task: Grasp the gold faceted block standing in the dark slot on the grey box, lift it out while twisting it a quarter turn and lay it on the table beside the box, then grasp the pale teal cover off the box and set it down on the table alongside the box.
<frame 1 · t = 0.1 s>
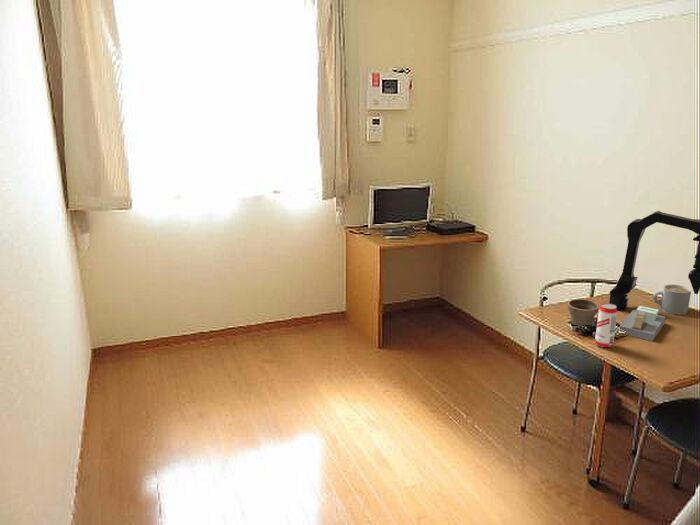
hand: (698, 290, 212), 15 cm above the table, tool pointing down, fingers open, 9 cm apart
gold faceted block: (639, 325, 210), point 3 cm above the table, touching housing
cover: (646, 316, 218), point 3 cm above the table, touching housing
beer can: (603, 345, 202), on the table
housing: (641, 328, 214), on the table
flower pot: (580, 327, 217), on the table
coffee mug: (669, 309, 231), on the table
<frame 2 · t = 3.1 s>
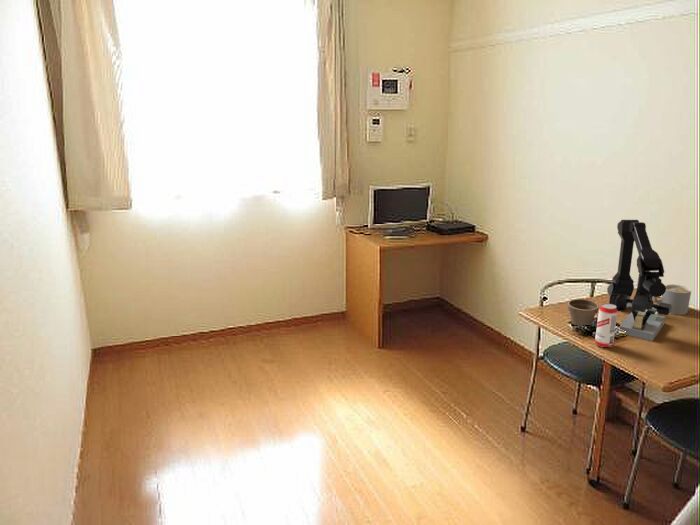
hand: (639, 324, 210), 4 cm above the table, tool pointing down, fingers closed on gold faceted block, 2 cm apart
gold faceted block: (639, 325, 210), point 3 cm above the table, touching gripper, housing
everything else where it was.
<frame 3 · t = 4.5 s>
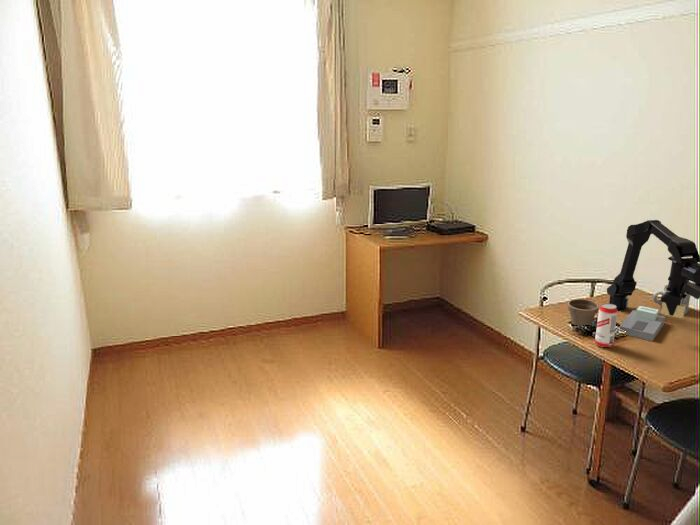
hand: (672, 314, 200), 11 cm above the table, tool pointing down, fingers closed on gold faceted block, 2 cm apart
gold faceted block: (672, 314, 200), point 11 cm above the table, touching gripper
everything else where it was.
when the fingers open (2 cm above the table, at t = 6.4 s): gold faceted block drops 1 cm, on the table.
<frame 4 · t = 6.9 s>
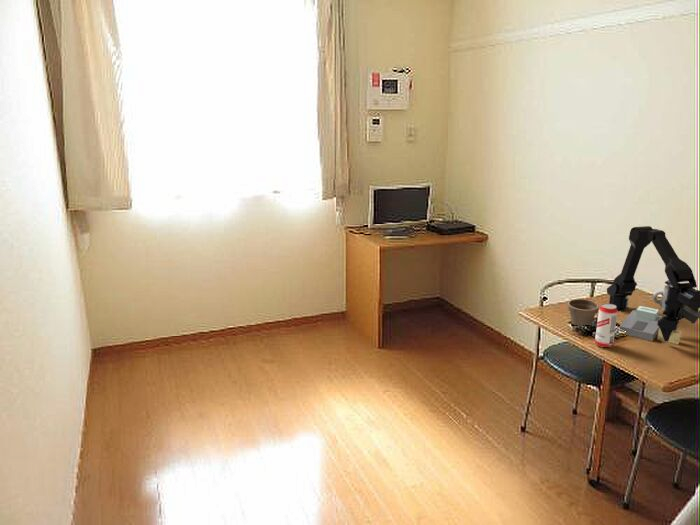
hand: (668, 337, 203), 2 cm above the table, tool pointing down, fingers open, 8 cm apart
gold faceted block: (668, 341, 204), on the table
everything else where it was.
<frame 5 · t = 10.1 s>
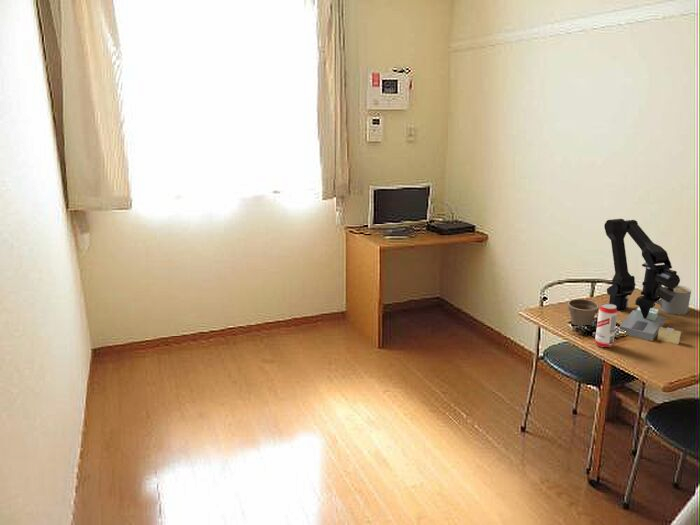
hand: (646, 316, 218), 3 cm above the table, tool pointing down, fingers closed on cover, 5 cm apart
cover: (646, 316, 218), point 3 cm above the table, touching gripper, housing
everything else where it was.
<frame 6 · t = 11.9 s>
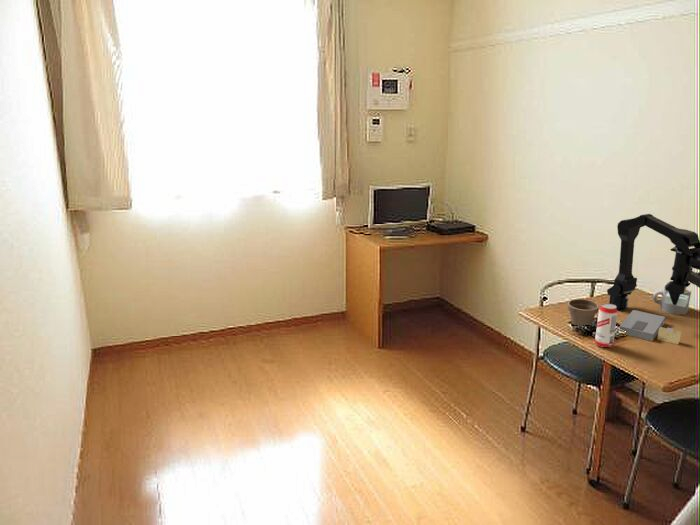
hand: (676, 302, 208), 12 cm above the table, tool pointing down, fingers closed on cover, 5 cm apart
cover: (676, 303, 208), point 12 cm above the table, touching gripper
everything else where it was.
when the fingers open (2 cm above the table, at t = 14.0 s): cover stays where it is, resting on housing.
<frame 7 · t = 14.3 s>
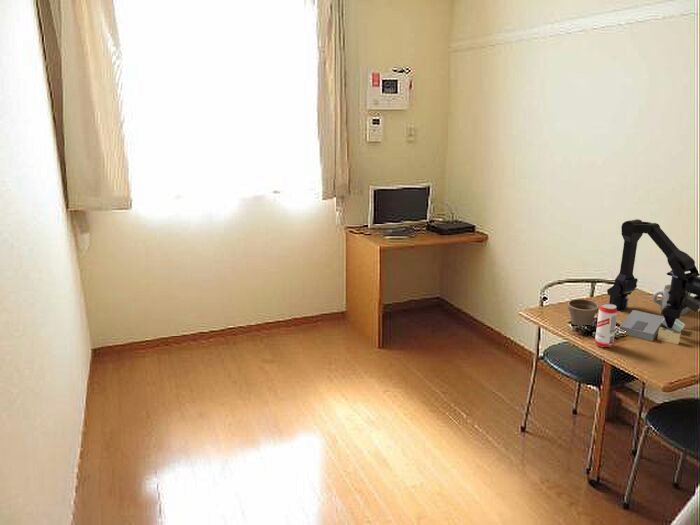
hand: (672, 325, 211), 2 cm above the table, tool pointing down, fingers open, 8 cm apart
cover: (670, 326, 212), point 2 cm above the table, tilted 26°, touching housing
everything else where it was.
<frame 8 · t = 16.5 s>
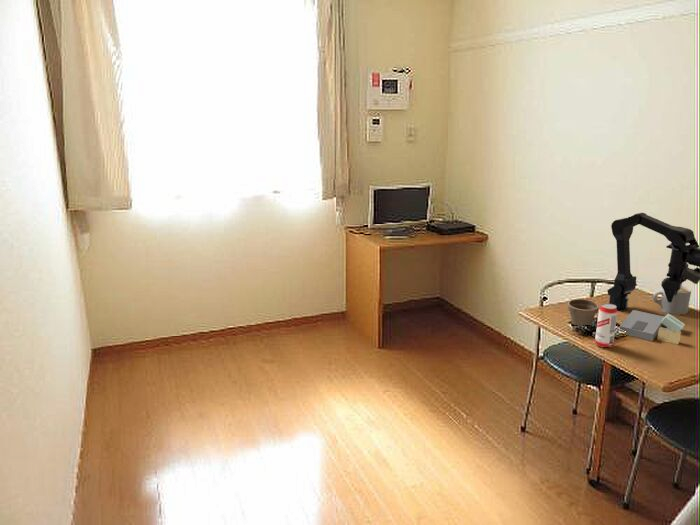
hand: (672, 298, 212), 12 cm above the table, tool pointing down, fingers open, 9 cm apart
nothing on the table moved.
at the end: gold faceted block inside the target area (0.5 cm from its centre), on the table; cover inside the target area (1.2 cm from its centre), point 1.6 cm above the table; the gripper is holding nothing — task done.
